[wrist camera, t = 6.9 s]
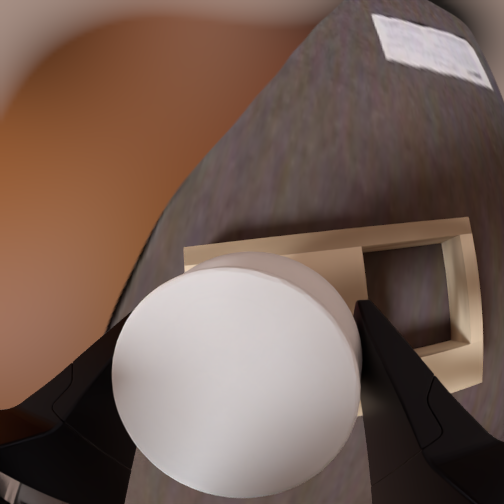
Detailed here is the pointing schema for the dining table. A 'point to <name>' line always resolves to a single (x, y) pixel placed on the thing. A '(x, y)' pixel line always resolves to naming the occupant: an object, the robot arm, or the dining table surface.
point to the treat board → (354, 285)
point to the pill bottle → (240, 375)
